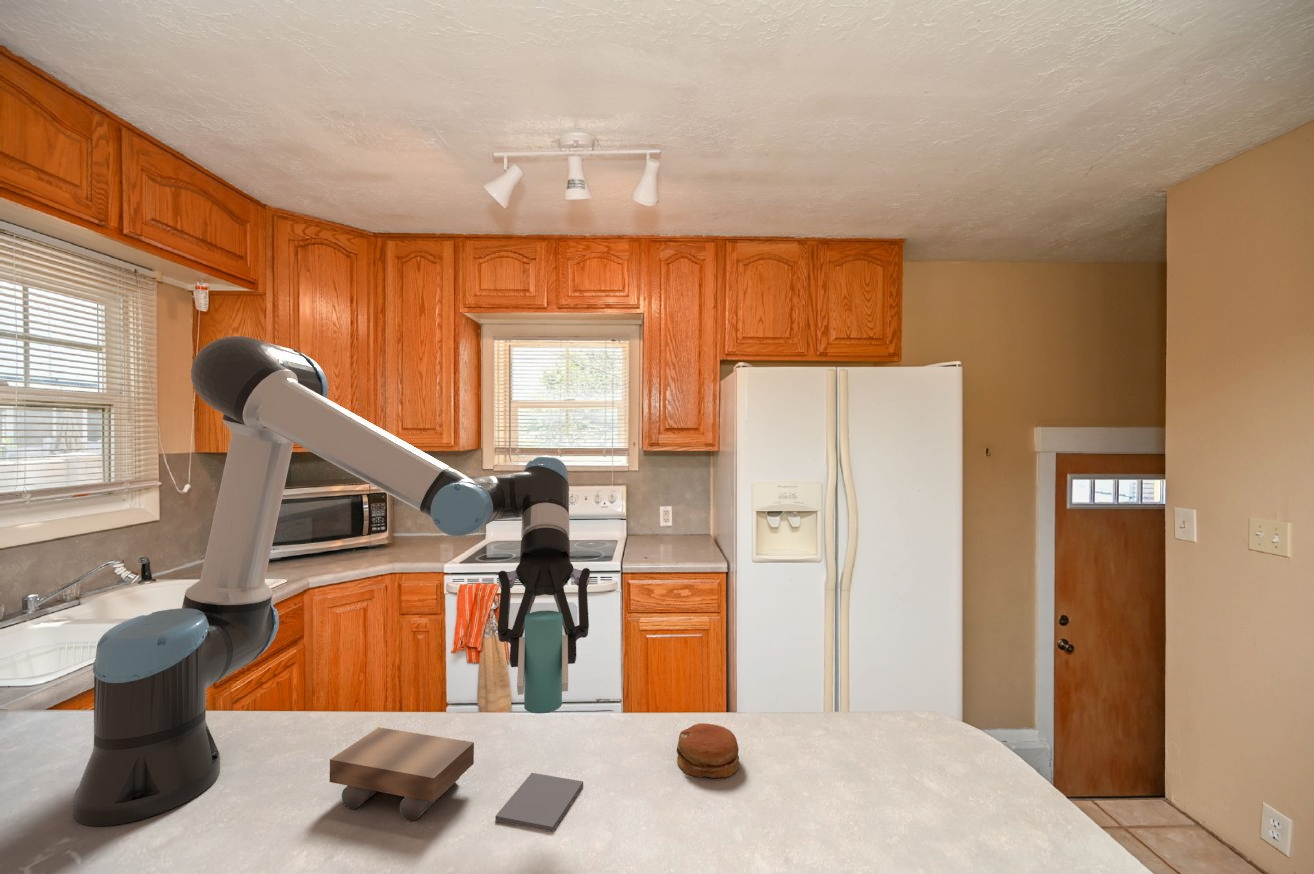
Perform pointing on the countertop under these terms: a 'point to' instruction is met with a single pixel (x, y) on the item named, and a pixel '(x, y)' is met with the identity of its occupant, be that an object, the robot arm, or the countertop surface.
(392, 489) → the robot arm
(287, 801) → the countertop surface
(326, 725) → the countertop surface
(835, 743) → the countertop surface
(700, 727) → the burger
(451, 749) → the slab
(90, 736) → the countertop surface
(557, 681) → the roller
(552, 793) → the pad
